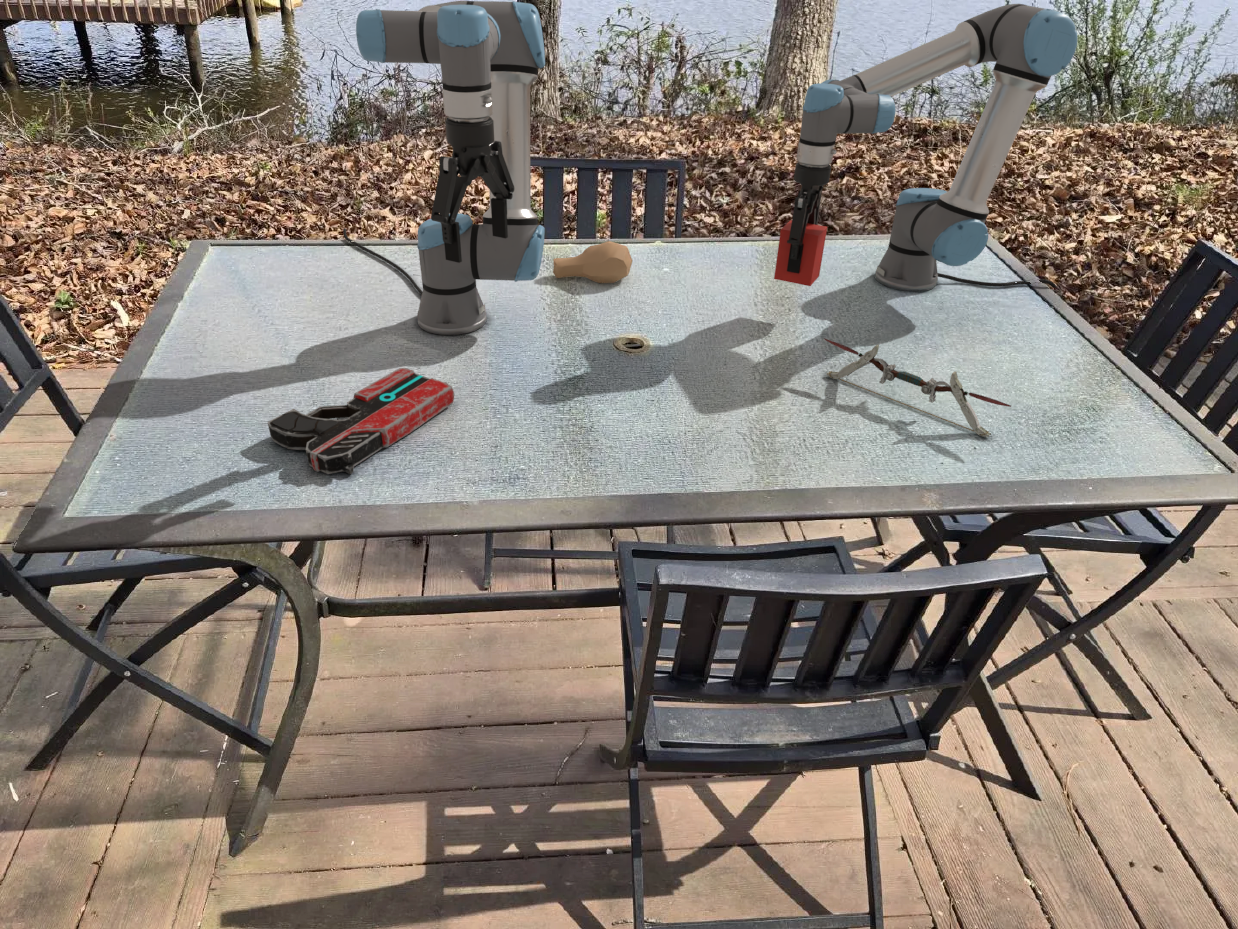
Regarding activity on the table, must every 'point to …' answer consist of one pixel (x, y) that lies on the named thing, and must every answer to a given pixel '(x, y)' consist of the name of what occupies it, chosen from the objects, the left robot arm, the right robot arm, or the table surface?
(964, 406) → the bow
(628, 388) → the table surface
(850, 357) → the table surface
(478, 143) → the left robot arm
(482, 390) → the table surface
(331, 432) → the gun
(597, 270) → the squash
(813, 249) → the brick
